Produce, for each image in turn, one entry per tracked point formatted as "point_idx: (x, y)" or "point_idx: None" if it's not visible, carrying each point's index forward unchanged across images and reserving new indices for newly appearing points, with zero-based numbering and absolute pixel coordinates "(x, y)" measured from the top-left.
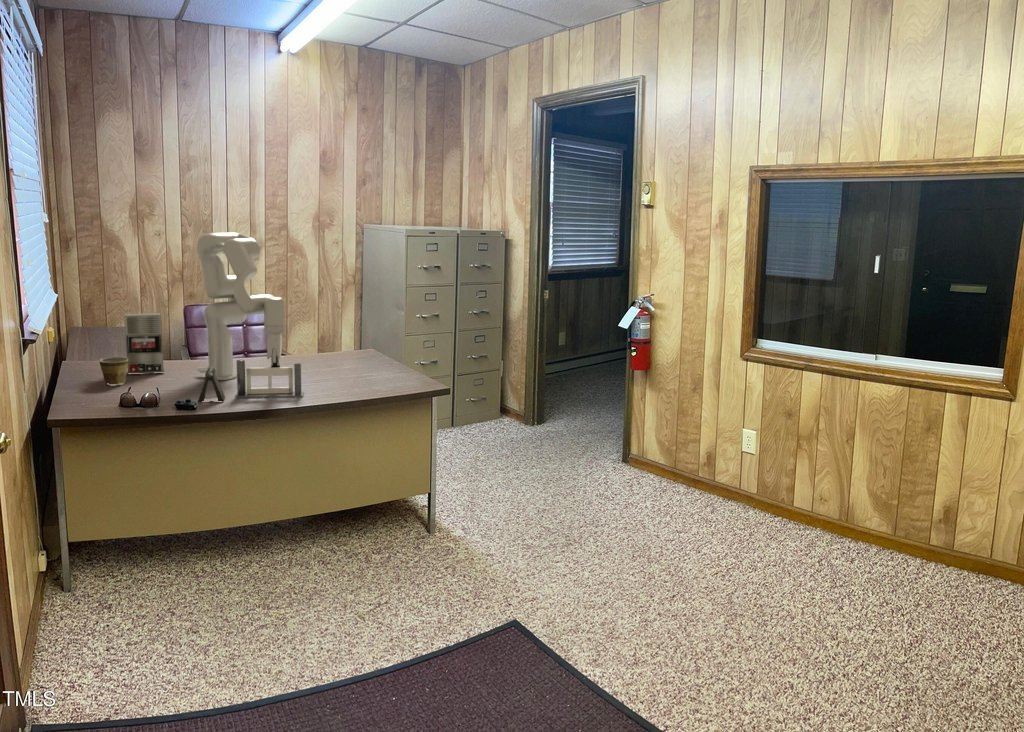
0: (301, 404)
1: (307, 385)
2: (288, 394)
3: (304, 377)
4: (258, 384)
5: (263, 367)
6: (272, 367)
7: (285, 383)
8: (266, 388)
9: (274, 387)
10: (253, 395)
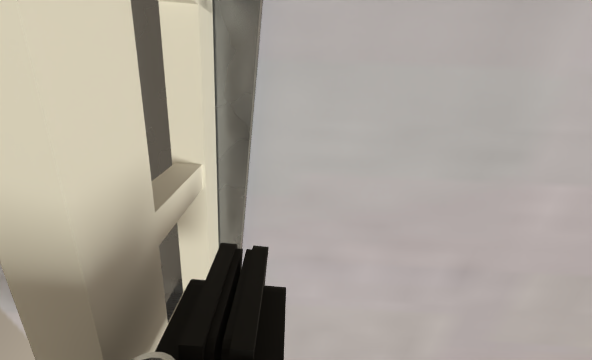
0: (8, 301)
1: (406, 348)
2: (169, 263)
3: (589, 348)
4: (548, 87)
5: (64, 216)
6: (87, 349)
7: (496, 257)
8: (171, 147)
9: (200, 207)
10: (140, 31)
